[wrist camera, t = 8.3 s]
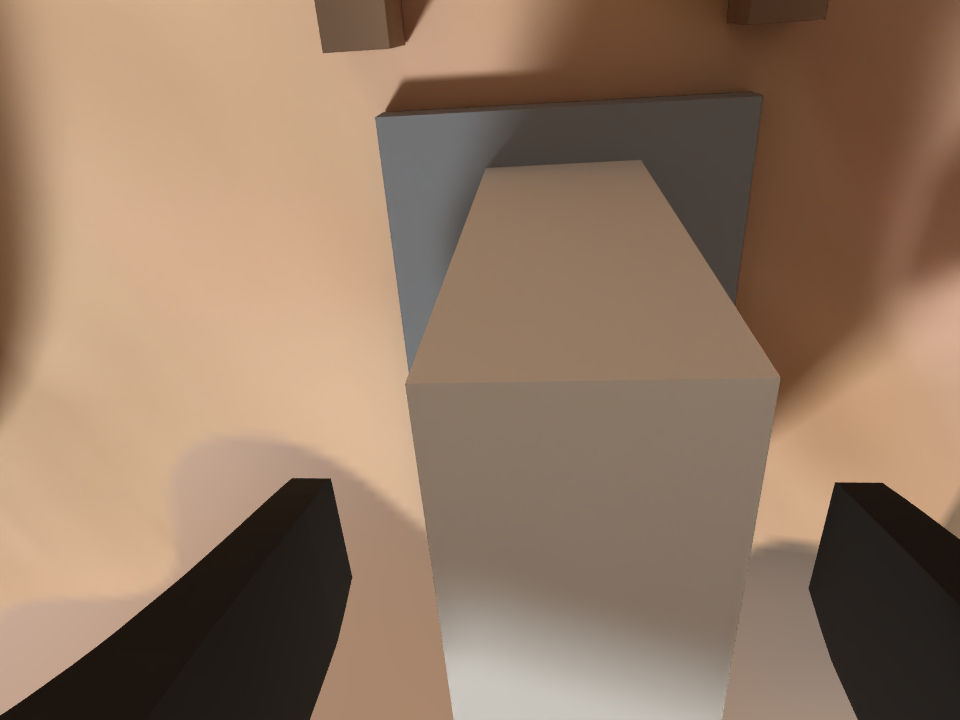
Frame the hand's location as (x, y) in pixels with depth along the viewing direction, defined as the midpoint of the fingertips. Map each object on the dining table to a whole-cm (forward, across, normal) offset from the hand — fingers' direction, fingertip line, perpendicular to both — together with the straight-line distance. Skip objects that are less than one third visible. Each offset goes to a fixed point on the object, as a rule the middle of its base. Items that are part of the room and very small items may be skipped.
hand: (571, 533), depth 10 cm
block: (+4, 0, 0) cm, 4 cm away
